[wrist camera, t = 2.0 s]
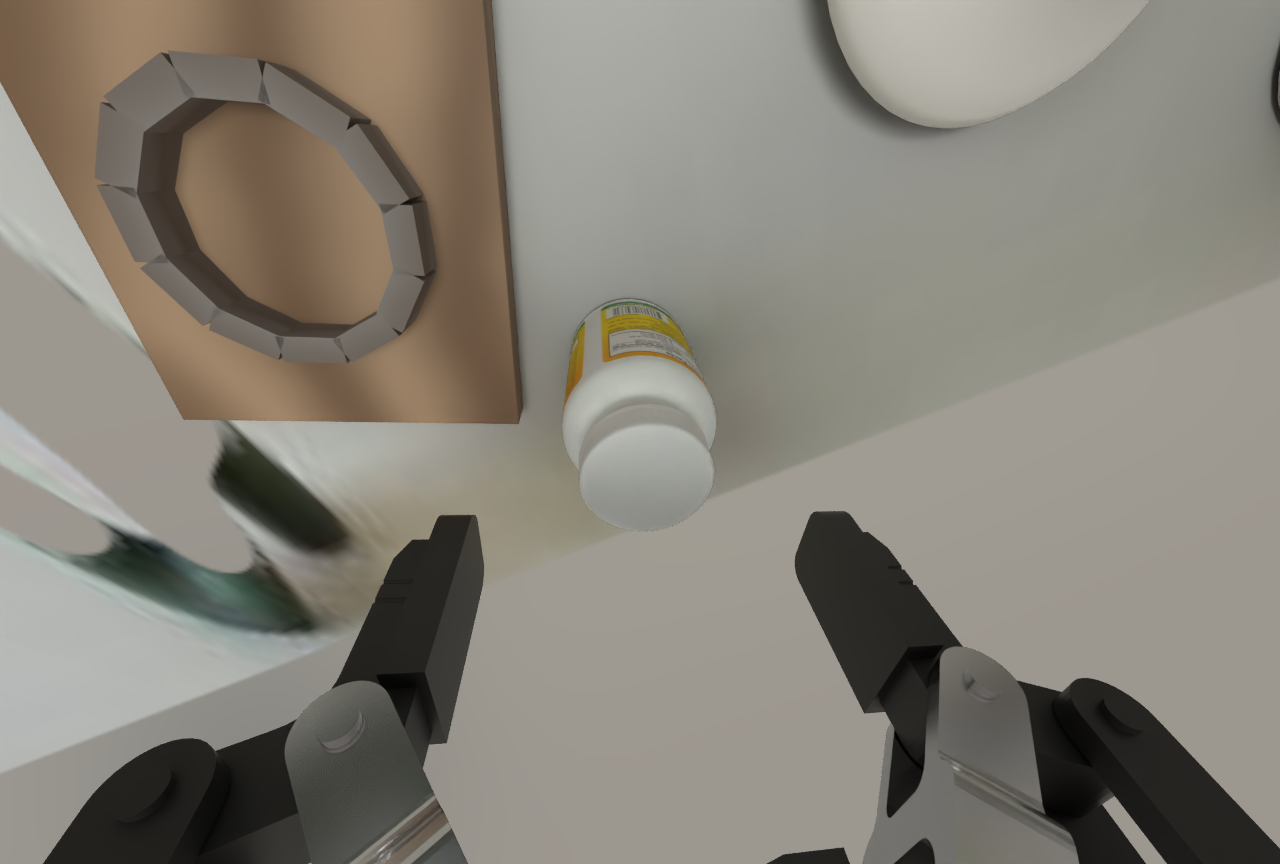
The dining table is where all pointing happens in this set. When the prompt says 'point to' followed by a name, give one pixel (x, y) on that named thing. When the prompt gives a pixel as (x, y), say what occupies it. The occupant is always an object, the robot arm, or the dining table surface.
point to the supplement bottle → (638, 418)
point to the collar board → (287, 196)
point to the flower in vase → (971, 51)
